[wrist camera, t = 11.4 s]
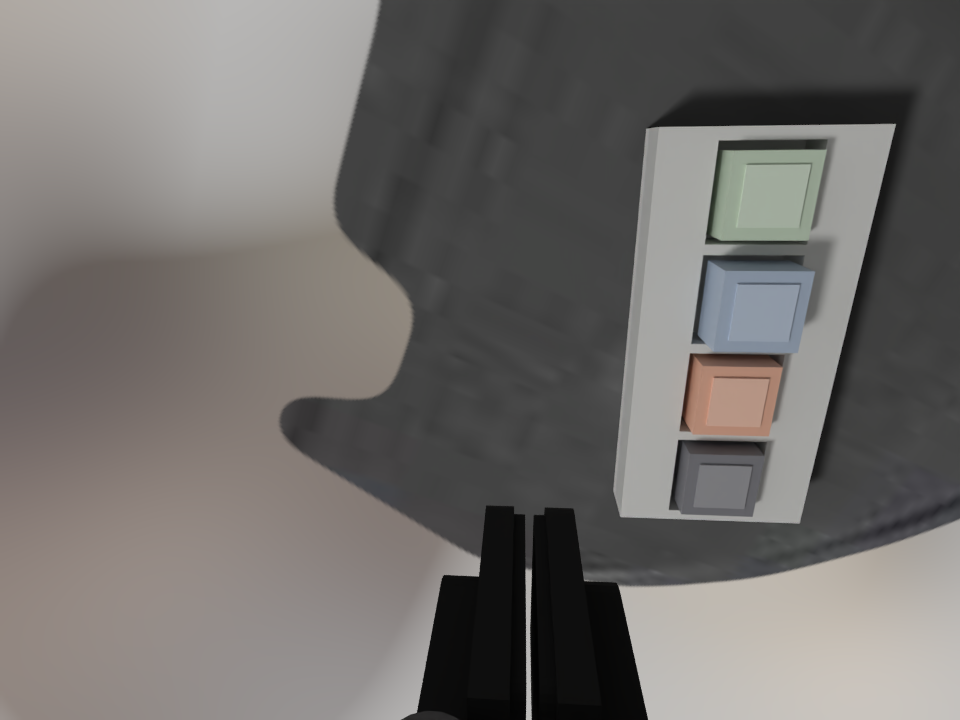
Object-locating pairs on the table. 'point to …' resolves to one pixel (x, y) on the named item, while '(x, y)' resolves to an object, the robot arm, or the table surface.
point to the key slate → (754, 305)
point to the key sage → (765, 194)
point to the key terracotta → (731, 394)
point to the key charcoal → (717, 477)
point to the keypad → (679, 292)
